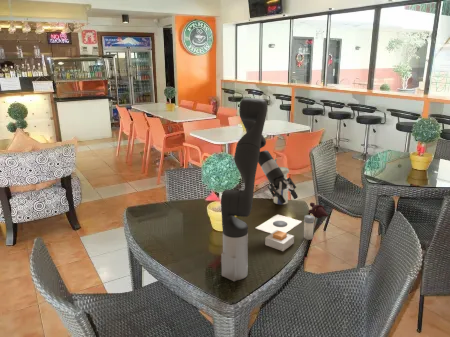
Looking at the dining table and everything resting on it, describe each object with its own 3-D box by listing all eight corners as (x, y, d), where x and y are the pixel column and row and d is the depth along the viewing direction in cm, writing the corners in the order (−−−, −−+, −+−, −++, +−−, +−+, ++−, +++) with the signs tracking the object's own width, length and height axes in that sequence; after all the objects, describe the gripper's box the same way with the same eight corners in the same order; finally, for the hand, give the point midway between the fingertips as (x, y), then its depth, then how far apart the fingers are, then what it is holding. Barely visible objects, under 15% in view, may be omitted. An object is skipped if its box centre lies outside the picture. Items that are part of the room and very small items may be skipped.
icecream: (335, 209, 182) (316, 201, 196) (323, 208, 179) (305, 200, 193) (332, 223, 183) (314, 214, 197) (320, 222, 180) (302, 213, 194)
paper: (280, 236, 169) (280, 236, 169) (255, 228, 178) (255, 227, 178) (302, 222, 184) (302, 221, 184) (277, 214, 193) (277, 214, 192)
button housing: (283, 251, 157) (283, 243, 156) (265, 244, 162) (265, 237, 161) (293, 243, 164) (294, 235, 163) (276, 237, 169) (276, 230, 168)
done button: (281, 242, 159) (281, 236, 159) (272, 239, 162) (273, 234, 161) (286, 238, 163) (286, 233, 162) (278, 235, 165) (278, 230, 164)
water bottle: (272, 204, 206) (273, 160, 199) (273, 198, 214) (275, 156, 207) (287, 205, 204) (288, 161, 197) (288, 199, 212) (290, 157, 205)
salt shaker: (310, 240, 166) (311, 219, 163) (301, 238, 168) (302, 217, 165) (314, 237, 169) (315, 216, 166) (306, 234, 171) (307, 214, 168)
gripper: (266, 170, 170) (284, 200, 165) (286, 164, 179) (305, 192, 174) (257, 178, 175) (275, 208, 170) (278, 172, 184) (295, 200, 179)
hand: (290, 200), depth 172 cm, fingers open, 8 cm apart
